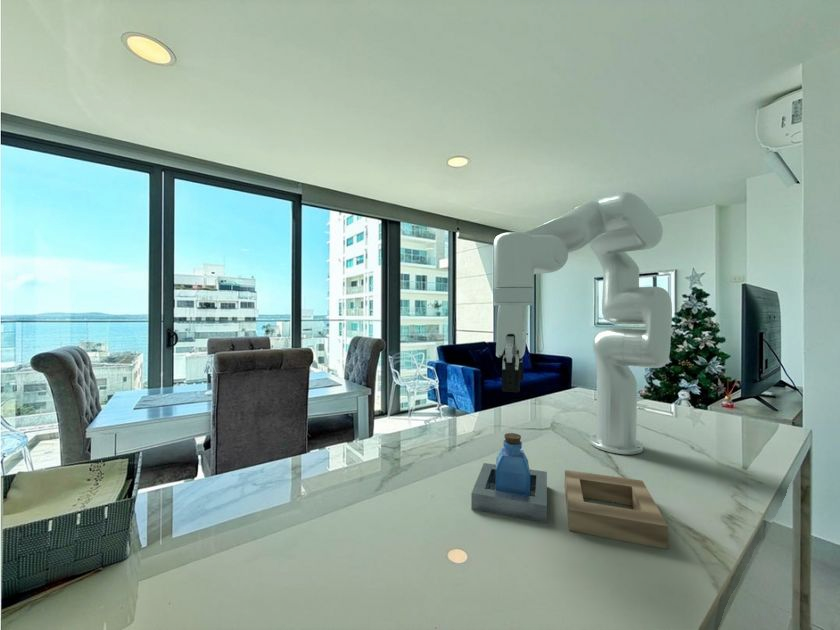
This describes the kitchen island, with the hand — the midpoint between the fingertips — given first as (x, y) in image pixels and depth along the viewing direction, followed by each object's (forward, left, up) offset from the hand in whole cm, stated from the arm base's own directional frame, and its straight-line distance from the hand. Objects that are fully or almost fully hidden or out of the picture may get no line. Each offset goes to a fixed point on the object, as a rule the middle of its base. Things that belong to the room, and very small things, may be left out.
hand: (513, 386), depth 71 cm
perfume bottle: (0, 0, -22) cm, 22 cm away
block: (0, 0, -22) cm, 22 cm away
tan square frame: (0, +17, -22) cm, 27 cm away
